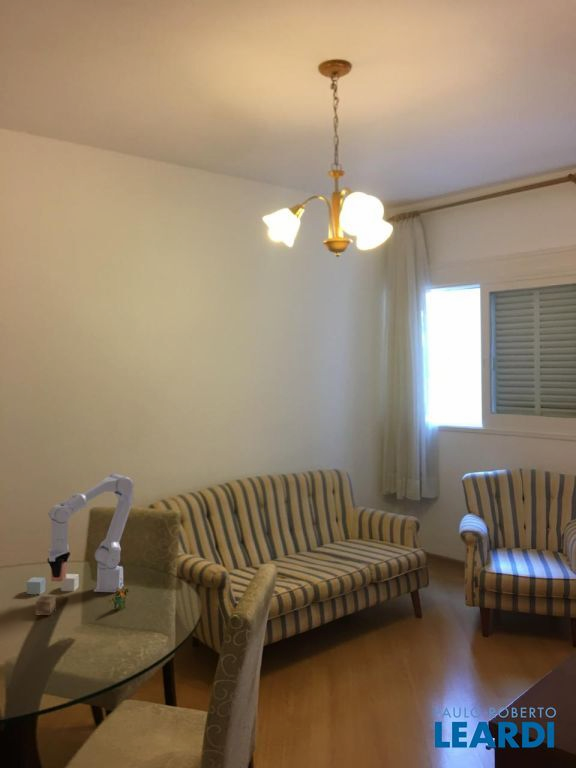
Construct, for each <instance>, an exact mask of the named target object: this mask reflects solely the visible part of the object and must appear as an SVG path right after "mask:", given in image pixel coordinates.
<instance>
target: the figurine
mask: <svg viewBox="0 0 576 768" xmlns="http://www.w3.org/2000/svg"><path fill="white" fill-rule="evenodd" d="M123 587H124V586H123ZM117 589H119V591H115V592H114V593H116V594H114V595H113V596H112V597H111V598H110V599H109V600H108V601H107V603H113V604H114V606H113V607H114V610H118V612H119V611H122V609H121V608H120V607H123V608H126V605H125V603H126V601H127V600H128V599H129V597H128V594H129V593H130V590H129V588H128V587H126V586H125V587H124V588H123V589H122V590H121V589H120V588H118V587H117V588H116V590H117ZM117 605H118V606H117ZM116 606H117V607H116Z"/></svg>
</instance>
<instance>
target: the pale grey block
mask: <svg viewBox="0 0 576 768" xmlns="http://www.w3.org/2000/svg"><path fill="white" fill-rule="evenodd" d="M79 575H80V574H78V573H66V578H65V579H64V580H63V581H62V582H60V591H61V592H75V591H76V590H77V589H78V588H79V582H80V581H79V580H80V579H79V578H80V577H79Z"/></svg>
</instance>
